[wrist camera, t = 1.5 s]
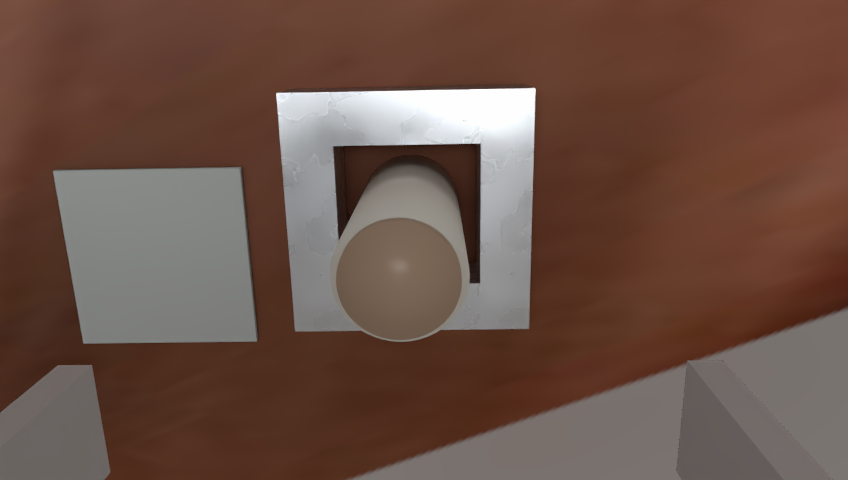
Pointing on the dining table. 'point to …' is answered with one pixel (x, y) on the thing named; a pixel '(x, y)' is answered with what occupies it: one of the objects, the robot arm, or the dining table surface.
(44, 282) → the dining table surface
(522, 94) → the housing
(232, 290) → the pad
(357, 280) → the off-white cylinder
